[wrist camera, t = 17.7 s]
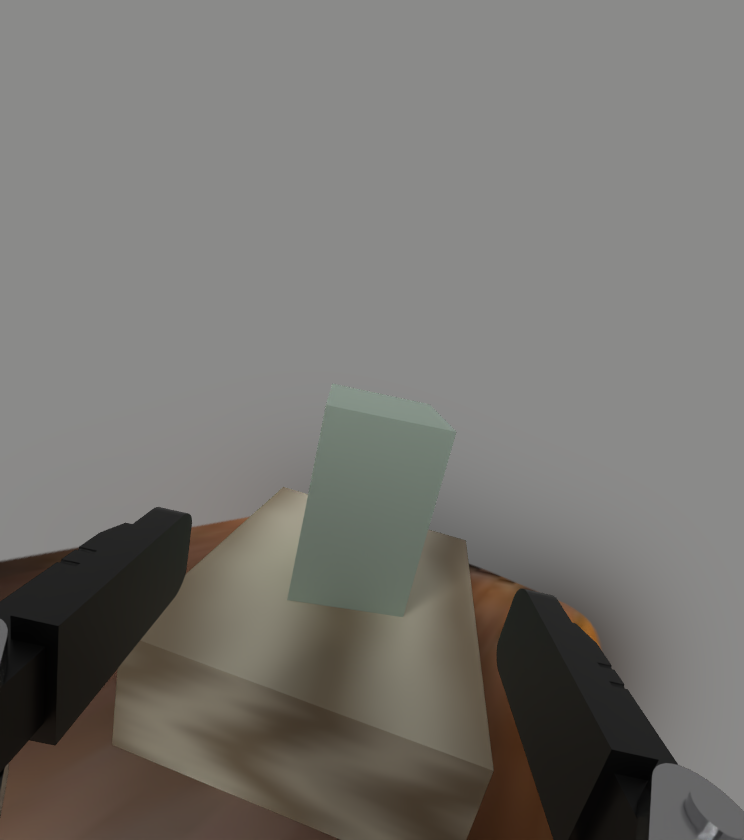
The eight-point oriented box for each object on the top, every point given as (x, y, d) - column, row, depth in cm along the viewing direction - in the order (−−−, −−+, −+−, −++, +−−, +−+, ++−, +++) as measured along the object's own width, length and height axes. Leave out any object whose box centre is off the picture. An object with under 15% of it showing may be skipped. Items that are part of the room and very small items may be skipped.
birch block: (111, 752, 15) (120, 633, 14) (271, 555, 30) (283, 487, 29) (445, 891, 14) (493, 771, 12) (443, 610, 28) (465, 540, 27)
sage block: (287, 600, 18) (325, 404, 15) (302, 534, 23) (332, 383, 21) (402, 617, 18) (456, 432, 16) (390, 549, 24) (429, 404, 21)
